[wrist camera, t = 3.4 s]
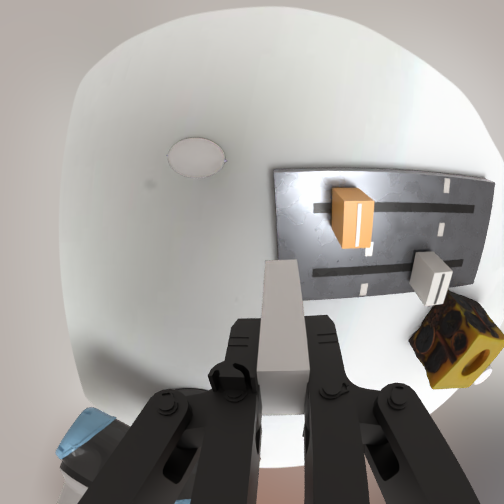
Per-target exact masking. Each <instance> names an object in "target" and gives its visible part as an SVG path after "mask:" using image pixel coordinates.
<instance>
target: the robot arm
mask: <svg viewBox="0 0 504 504" xmlns="http://www.w3.org/2000/svg"><path fill="white" fill-rule="evenodd" d="M208 378H209V381H210V384H211V387H212V389H211V390H209V391H204V390H199V389H178V390H172V389H167V390H162V391H160V392H157V393H155V394H154V395H153V396H152V397H151V398H150V400H149V401H148V402H147V404H146V405H145V407H144V408H143V410H142V411H141V413H140V414H139V415H138V417H137V418H136V420H135V421H134V423H133V424H132V426H131V427H130V426H129V425H127V424H125V423H123V422H121V421H119V420H117V419H116V417H114V416H113V417H112V416H110V415H108V414H106V413H104V412H102V411H101V410H99V409H96V408H94V407H90V408H86V409H85V410H84V411H83V412H82V413H81V414H80V415H79V416H78V418H77V419H76V420H75V422H74V423H73V425H72V426H71V427H70V429H69V430H68V432H67V433H66V435H65V436H64V438H63V439H62V441H61V443H60V445H59V447H58V448H57V450H56V455H57V456H58V457H59V459H63V461H62V463H61V466H60V468H59V469H60V471H61V473H62V475H63V477H64V480H65V483H64V486H63V488H62V491H61V494H60V496H59V499H58V502H57V504H256V499H257V487H258V475H259V462H260V449H261V435H262V427H261V418H262V415H301V414H304V413H305V424H304V430H303V436H302V437H304V460H305V500H304V504H370V502H369V491H368V482H367V473H366V465H365V457H364V454H365V456H366V458H367V460H368V463H369V465H370V467H371V470H372V472H373V474H374V476H375V479H376V481H377V483H378V485H379V488H380V490H381V492H382V495H383V497H384V499H385V502H386V504H480V502H479V500H478V498H477V496H476V494H475V493H474V490H473V489H472V487H471V485H470V483H469V481H468V479H467V477H466V475H465V473H464V472H463V470H462V468H461V467H460V464H459V463H458V461H457V459H456V457H455V456H454V454H453V452H452V450H451V449H450V447H449V445H448V444H447V442H446V440H445V439H444V437H443V435H442V434H441V432H440V430H439V429H438V427H437V425H436V424H435V422H434V421H433V419H432V418H431V416H430V414H429V413H428V411H427V410H426V408H425V406H424V405H423V403H422V402H421V400H420V399H419V397H418V396H417V394H416V393H415V391H414V390H413V389H412V388H411V387H410V386H407V385H405V384H403V383H392V384H388V385H387V386H385V387H384V388H382V390H381V391H378V390H371V389H365V388H361V387H358V386H356V385H354V384H353V383H352V382H351V381H350V380H349V379H348V378H347V376H346V373H345V370H344V365H343V360H342V355H341V351H340V346H339V343H338V337H337V334H336V329H335V324H334V322H333V321H332V320H331V319H330V318H329V317H328V315H317V316H304V310H303V301H302V293H301V285H300V278H299V271H298V263H297V259H293V260H266V261H265V274H264V288H263V301H262V313H261V318H247V319H238V320H237V321H236V322H235V323H234V325H233V326H232V327H231V332H230V337H229V342H228V347H227V351H226V356H225V361H223V362H221V363H218V364H217V365H215V366H214V367H213V368H212V369H211V370H210V372H209V374H208Z"/></svg>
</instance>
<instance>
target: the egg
mask: <svg viewBox="0 0 504 504" xmlns="http://www.w3.org/2000/svg"><path fill="white" fill-rule="evenodd" d="M166 156H168V162H169V164H170V166H171V167H172V168H173V169H174V170H175V171H176V172H177V173H179V174H181V175H183V176H186V177H190V178H204V177H208V176H211V175H214V174H215V173H217V172H218V171H219V170H221V168H222V167H223V165H224V163H225V162H227V160H225V155H224V152H223V150H222V149H221V148H220V147H219V146H218V145H217V144H216V143H214V142H212V141H210V140H207V139H203V138H187V139H183V140H181V141H179V142H177V143H176V144H174V145H173V146H172V147H171V149H170V150H169V153H168V155H166Z"/></svg>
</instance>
